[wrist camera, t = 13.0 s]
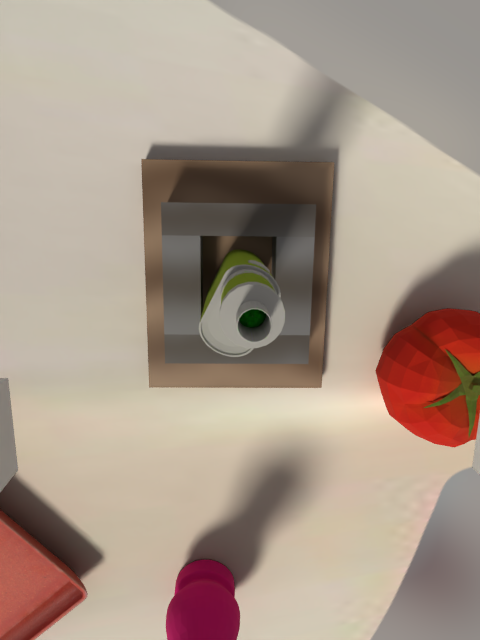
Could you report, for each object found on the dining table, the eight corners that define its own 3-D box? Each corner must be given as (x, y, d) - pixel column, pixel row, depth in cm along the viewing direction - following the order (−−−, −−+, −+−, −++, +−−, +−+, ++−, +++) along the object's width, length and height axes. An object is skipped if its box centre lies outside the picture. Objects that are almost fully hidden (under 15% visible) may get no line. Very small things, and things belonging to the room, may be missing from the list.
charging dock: (318, 381, 44) (329, 402, 39) (152, 381, 43) (142, 402, 38) (330, 164, 39) (344, 157, 34) (144, 161, 39) (132, 153, 34)
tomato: (385, 438, 45) (421, 488, 37) (352, 324, 43) (382, 351, 34) (509, 398, 45) (572, 440, 36) (482, 280, 42) (545, 296, 34)
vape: (271, 260, 39) (312, 305, 20) (239, 320, 41) (249, 416, 21) (233, 240, 39) (238, 266, 20) (202, 301, 40) (177, 382, 21)
